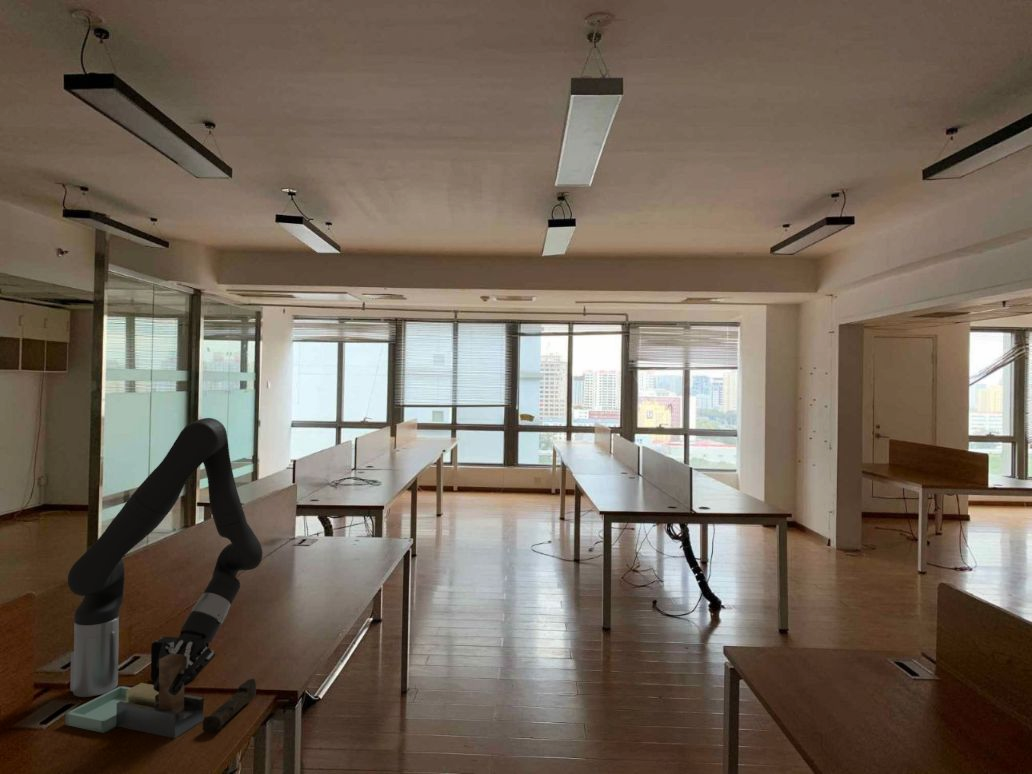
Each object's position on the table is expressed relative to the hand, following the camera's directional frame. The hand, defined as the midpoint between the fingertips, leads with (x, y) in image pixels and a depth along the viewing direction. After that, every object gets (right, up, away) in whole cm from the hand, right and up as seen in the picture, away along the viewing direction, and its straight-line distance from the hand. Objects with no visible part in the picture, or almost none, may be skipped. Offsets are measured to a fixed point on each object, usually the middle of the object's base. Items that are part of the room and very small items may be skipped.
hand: (164, 691), depth 141 cm
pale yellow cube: (-4, -5, +3) cm, 7 cm away
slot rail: (-2, -8, +3) cm, 9 cm away
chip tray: (-15, -8, +7) cm, 19 cm away
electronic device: (-11, -9, +24) cm, 28 cm away
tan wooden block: (0, -5, +2) cm, 6 cm away
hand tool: (+11, -9, +8) cm, 16 cm away
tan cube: (-8, -5, +4) cm, 10 cm away
